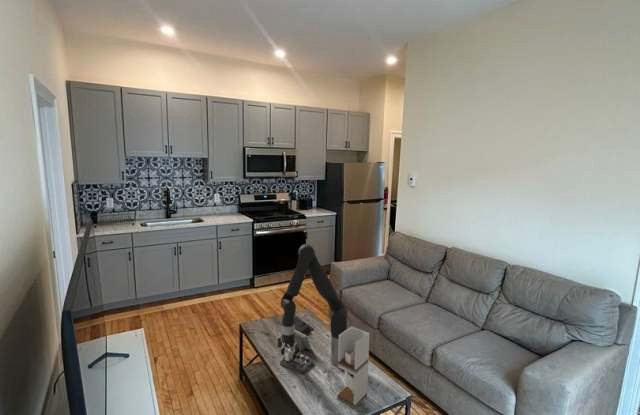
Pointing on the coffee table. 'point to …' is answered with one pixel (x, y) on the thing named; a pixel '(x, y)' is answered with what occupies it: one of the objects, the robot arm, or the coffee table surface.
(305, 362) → the console
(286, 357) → the fader tab
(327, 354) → the coffee table surface
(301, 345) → the digital clock
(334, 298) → the robot arm
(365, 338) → the display case
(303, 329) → the dark slate chunk
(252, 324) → the coffee table surface
